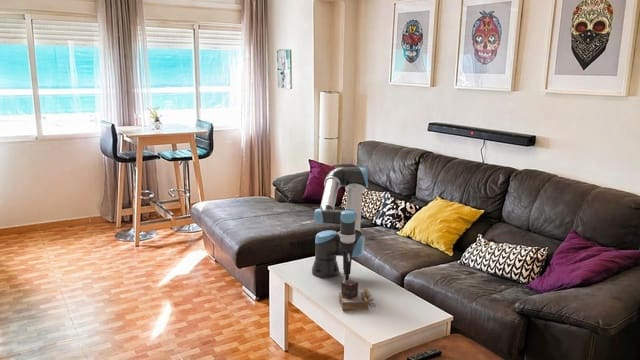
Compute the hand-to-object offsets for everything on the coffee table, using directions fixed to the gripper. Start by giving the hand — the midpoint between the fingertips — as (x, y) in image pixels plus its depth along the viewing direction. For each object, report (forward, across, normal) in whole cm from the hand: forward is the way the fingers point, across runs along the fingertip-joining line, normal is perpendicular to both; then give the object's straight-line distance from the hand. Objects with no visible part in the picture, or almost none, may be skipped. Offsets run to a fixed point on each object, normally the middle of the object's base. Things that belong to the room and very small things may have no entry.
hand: (346, 285), depth 265 cm
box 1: (+2, +10, 0) cm, 10 cm away
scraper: (+2, +14, +9) cm, 16 cm away
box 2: (+2, +20, 0) cm, 20 cm away
